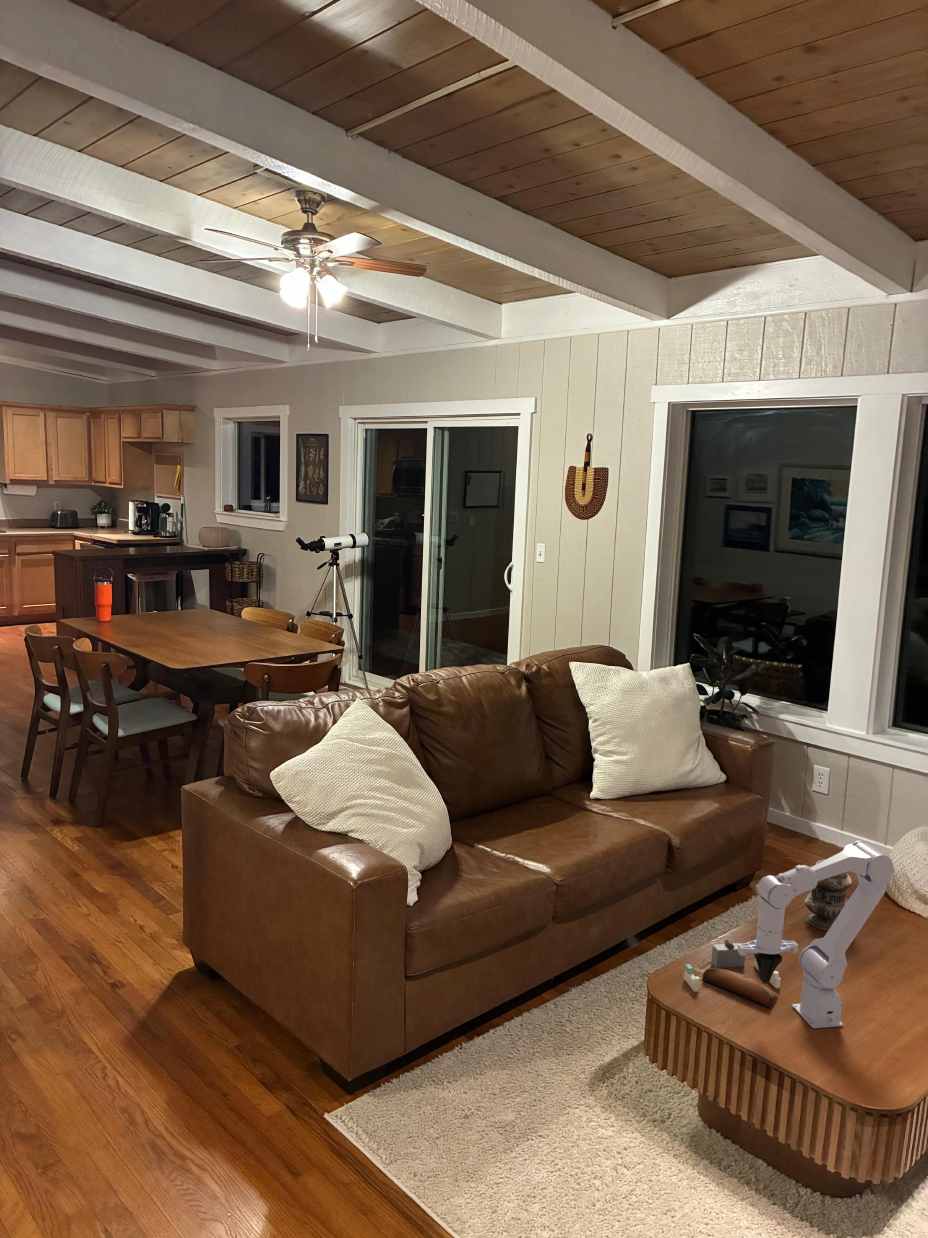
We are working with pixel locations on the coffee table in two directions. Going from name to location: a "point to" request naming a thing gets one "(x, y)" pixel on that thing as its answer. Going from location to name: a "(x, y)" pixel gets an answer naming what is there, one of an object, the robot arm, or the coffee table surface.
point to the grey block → (727, 955)
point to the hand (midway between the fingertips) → (764, 980)
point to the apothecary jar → (827, 900)
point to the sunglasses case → (741, 985)
